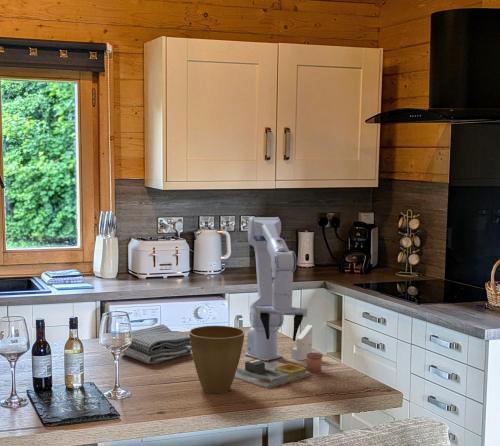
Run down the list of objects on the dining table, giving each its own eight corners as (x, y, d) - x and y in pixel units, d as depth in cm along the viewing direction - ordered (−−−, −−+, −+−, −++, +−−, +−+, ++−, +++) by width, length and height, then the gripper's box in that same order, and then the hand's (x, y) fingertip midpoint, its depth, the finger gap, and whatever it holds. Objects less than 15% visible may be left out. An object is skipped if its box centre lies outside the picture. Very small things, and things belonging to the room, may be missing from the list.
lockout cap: (303, 370, 223) (303, 354, 222) (313, 367, 226) (313, 351, 226) (315, 374, 220) (315, 357, 219) (325, 371, 223) (325, 355, 222)
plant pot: (254, 390, 204) (256, 332, 203) (212, 402, 194) (214, 341, 192) (218, 377, 215) (219, 322, 213) (177, 387, 205) (178, 329, 203)
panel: (232, 376, 216) (232, 368, 216) (275, 364, 229) (275, 356, 228) (267, 388, 206) (268, 379, 206) (310, 375, 219) (310, 367, 218)
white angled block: (319, 346, 241) (312, 325, 237) (303, 367, 235) (295, 346, 231) (310, 344, 243) (303, 323, 239) (293, 365, 237) (286, 344, 233)
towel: (118, 356, 234) (118, 331, 233) (163, 345, 248) (163, 322, 247) (149, 367, 224) (149, 341, 223) (194, 355, 237) (195, 331, 237)
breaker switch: (244, 372, 216) (245, 360, 216) (254, 369, 219) (254, 358, 219) (254, 375, 214) (255, 363, 213) (264, 372, 216) (264, 361, 216)
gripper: (255, 294, 214) (254, 341, 216) (306, 297, 212) (305, 344, 214) (258, 289, 221) (257, 335, 223) (308, 292, 219) (306, 338, 221)
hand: (281, 339), depth 219 cm, fingers open, 7 cm apart
